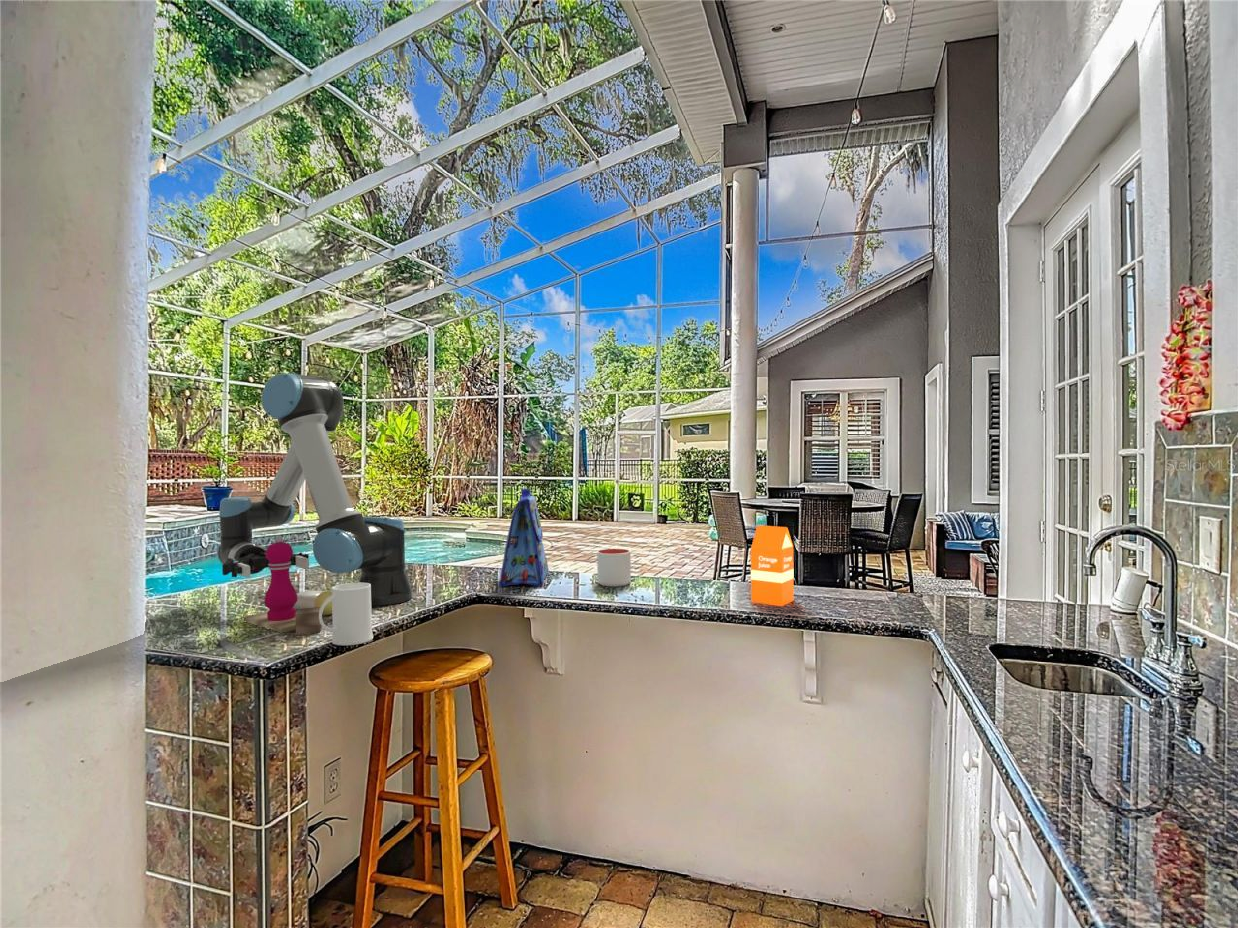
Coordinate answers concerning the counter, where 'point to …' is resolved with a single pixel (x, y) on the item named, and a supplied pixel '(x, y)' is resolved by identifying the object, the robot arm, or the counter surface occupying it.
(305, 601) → the white rounded piece
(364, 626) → the mug
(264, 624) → the serving board
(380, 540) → the robot arm
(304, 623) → the walnut block
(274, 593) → the pepper mill
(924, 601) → the counter surface
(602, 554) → the cup
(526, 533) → the lunch bag
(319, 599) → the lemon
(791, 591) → the orange juice
